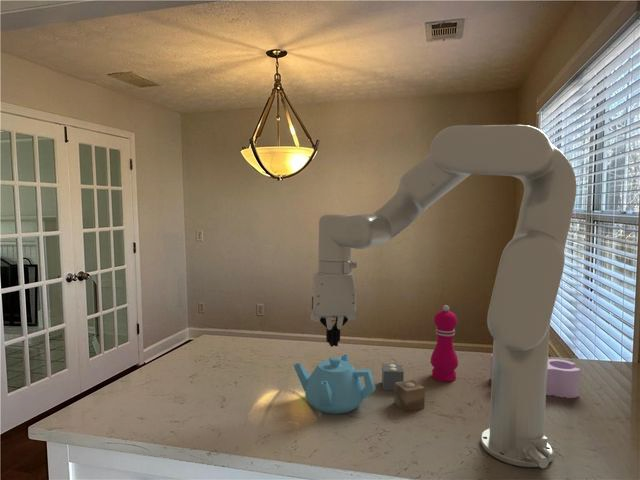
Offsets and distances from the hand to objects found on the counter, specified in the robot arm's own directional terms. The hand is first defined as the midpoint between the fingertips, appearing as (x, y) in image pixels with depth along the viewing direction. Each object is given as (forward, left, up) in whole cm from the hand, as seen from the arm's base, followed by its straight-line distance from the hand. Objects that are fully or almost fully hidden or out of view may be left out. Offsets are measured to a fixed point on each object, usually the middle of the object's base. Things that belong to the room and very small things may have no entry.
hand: (333, 344), depth 102 cm
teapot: (0, 0, -14) cm, 14 cm away
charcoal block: (+6, -17, -14) cm, 23 cm away
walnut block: (-5, -17, -14) cm, 23 cm away
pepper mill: (+9, -33, -14) cm, 37 cm away
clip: (-2, -53, -14) cm, 55 cm away
